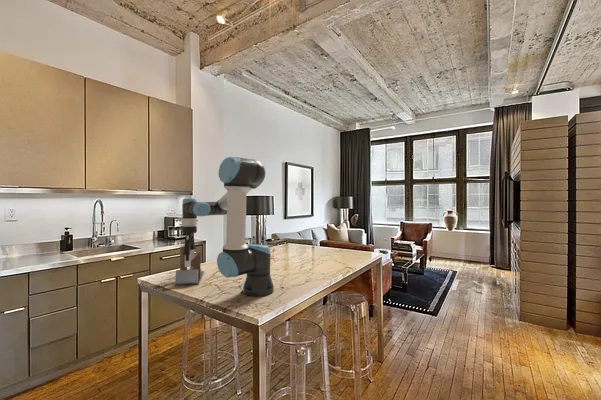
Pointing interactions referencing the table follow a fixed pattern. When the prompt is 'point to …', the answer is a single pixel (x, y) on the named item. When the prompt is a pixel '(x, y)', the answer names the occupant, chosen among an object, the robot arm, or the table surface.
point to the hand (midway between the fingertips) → (189, 263)
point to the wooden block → (194, 262)
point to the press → (188, 277)
